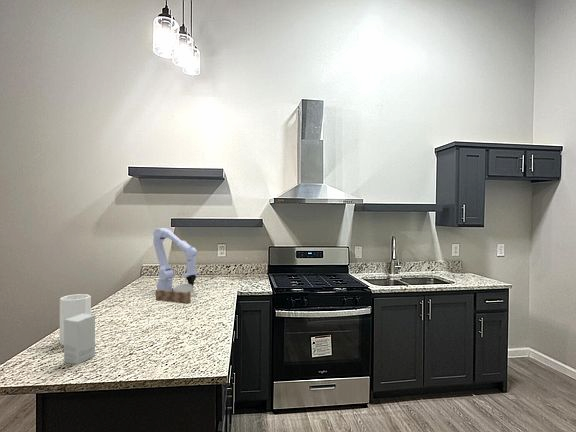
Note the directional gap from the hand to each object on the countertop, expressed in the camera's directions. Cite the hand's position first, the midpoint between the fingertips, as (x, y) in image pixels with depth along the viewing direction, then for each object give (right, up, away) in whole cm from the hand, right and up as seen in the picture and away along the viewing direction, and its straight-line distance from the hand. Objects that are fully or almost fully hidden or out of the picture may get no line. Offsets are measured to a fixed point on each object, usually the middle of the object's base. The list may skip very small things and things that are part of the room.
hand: (191, 286), depth 238 cm
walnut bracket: (-5, -5, -14) cm, 16 cm away
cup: (-24, -6, -88) cm, 91 cm away
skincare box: (-12, -6, -106) cm, 107 cm away
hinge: (-3, -6, -8) cm, 11 cm away
